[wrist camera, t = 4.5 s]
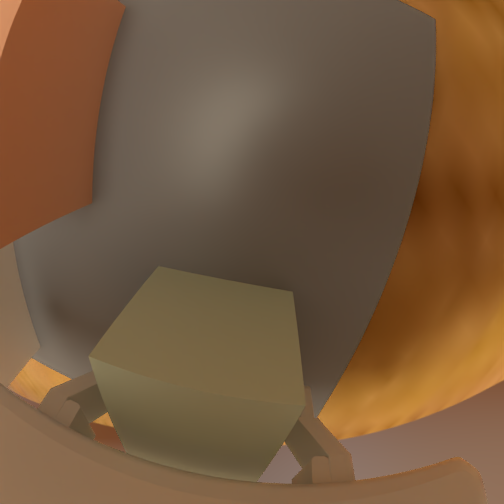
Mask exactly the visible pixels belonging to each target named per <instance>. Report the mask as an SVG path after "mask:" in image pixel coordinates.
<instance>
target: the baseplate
mask: <svg viewBox="0 0 504 504" xmlns="http://www.w3.org/2000/svg"><path fill="white" fill-rule="evenodd" d="M118 1H119V2H121V3H122V4H123V5H125V6H126V8H125V10H124V13H123V16H122V19H121V22H120V25H119V28H118V31H117V34H116V38H115V41H114V45H113V48H112V52H111V56H110V60H109V64H108V68H107V72H106V77H105V82H104V87H103V92H102V97H101V103H100V109H99V116H98V123H97V131H96V140H95V150H94V163H93V182H92V203H91V204H89V205H87V206H84V207H82V208H80V209H78V210H75V211H73V212H71V213H69V214H67V215H64V216H62V217H60V218H58V219H56V220H54V221H52V222H50V223H48V224H46V225H44V226H42V227H40V228H38V229H36V230H34V231H32V232H30V233H28V234H26V235H25V236H23V237H21V238H19V239H17V240H15V241H14V242H12V243H10V244H8V245H7V246H5V247H3V248H1V249H0V383H1V384H2V385H4V386H5V387H6V388H7V387H8V386H9V385H10V383H11V382H12V381H13V380H14V378H15V377H16V376H17V375H18V373H19V372H20V371H21V370H22V368H23V367H24V366H25V365H26V364H27V362H28V361H29V360H30V359H31V358H33V359H35V360H37V361H38V362H40V363H42V364H44V365H46V366H47V367H49V368H51V369H53V370H55V371H57V372H59V373H61V374H63V375H65V376H67V377H69V378H71V379H74V378H77V377H79V376H81V375H84V374H86V373H88V372H90V371H93V370H92V366H91V363H90V360H89V357H88V356H89V355H90V353H91V352H92V350H93V349H94V348H95V346H96V345H97V344H98V342H99V341H100V339H101V338H102V337H103V335H104V334H105V333H106V331H107V330H108V329H109V327H110V326H111V325H112V323H113V322H114V321H115V320H116V318H117V317H118V316H119V314H120V313H121V312H122V310H123V309H124V308H125V307H126V305H127V304H128V303H129V302H130V300H131V299H132V298H133V297H134V295H135V294H136V293H137V292H138V290H139V289H140V288H141V287H142V285H143V284H144V283H145V282H146V280H147V279H148V278H149V277H150V276H151V274H152V273H153V272H154V271H155V270H156V268H157V267H158V266H161V267H166V268H170V269H175V270H180V271H185V272H190V273H195V274H200V275H205V276H210V277H215V278H220V279H225V280H230V281H236V282H241V283H246V284H252V285H257V286H263V287H269V288H274V289H280V290H286V291H292V292H293V297H294V305H295V313H296V321H297V329H298V337H299V345H300V354H301V363H302V372H303V382H304V386H309V387H310V388H311V396H312V404H313V413H314V418H316V417H317V416H318V414H319V413H320V411H321V410H322V408H323V407H324V405H325V403H326V402H327V400H328V398H329V397H330V395H331V394H332V392H333V390H334V388H335V387H336V385H337V383H338V382H339V380H340V378H341V376H342V375H343V373H344V371H345V369H346V367H347V366H348V364H349V362H350V360H351V358H352V356H353V354H354V352H355V350H356V349H357V347H358V345H359V343H360V341H361V339H362V337H363V334H364V332H365V330H366V328H367V326H368V324H369V322H370V320H371V317H372V315H373V313H374V311H375V309H376V306H377V304H378V302H379V299H380V297H381V295H382V292H383V290H384V287H385V285H386V282H387V280H388V277H389V275H390V272H391V269H392V267H393V264H394V261H395V259H396V256H397V253H398V250H399V247H400V244H401V241H402V238H403V235H404V232H405V229H406V226H407V222H408V219H409V216H410V212H411V209H412V205H413V202H414V198H415V194H416V190H417V186H418V182H419V178H420V174H421V169H422V164H423V160H424V155H425V150H426V144H427V139H428V133H429V126H430V119H431V112H432V104H433V94H434V82H435V66H436V21H435V19H434V18H432V17H431V16H429V15H427V14H425V13H423V12H421V11H419V10H417V9H415V8H413V7H411V6H409V5H407V4H405V3H403V2H401V1H398V0H118Z"/></svg>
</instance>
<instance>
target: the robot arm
mask: <svg viewBox="0 0 504 504" xmlns="http://www.w3.org/2000/svg"><path fill="white" fill-rule="evenodd" d="M304 392H305V403H306V406H305V408H304V409H303V411H302V413H301V415H300V416H299V418H298V420H297V422H296V423H295V425H294V427H293V428H292V430H291V431H290V433H289V435H288V436H287V438H286V440H285V443H286V444H287V446H288V447H289V449H290V450H291V452H292V454H293V455H294V457H295V458H296V460H297V461H298V462H299V464H300V466H301V467H302V470H301V471H300V472H299V473H298V474H297V475H296V476H295V477H294V478H293V479H292V484H279V483H262V482H250V481H241V480H233V479H226V478H220V477H214V476H208V475H203V474H198V473H193V472H189V471H184V470H180V469H176V468H172V467H169V466H165V465H161V464H158V463H155V462H151V461H148V460H145V459H142V458H139V457H136V456H133V455H130V454H128V453H125V452H122V451H120V450H117V449H115V448H112V447H110V446H107V445H105V444H102V443H100V442H98V441H96V440H94V438H95V433H94V431H93V430H92V428H91V426H90V424H89V423H91V422H93V421H94V420H96V419H97V418H99V417H100V416H102V415H103V414H105V413H106V412H108V411H107V409H106V406H105V404H104V401H103V398H102V396H101V393H100V390H99V388H98V385H97V382H96V379H95V376H94V373H93V371H90V372H88V373H86V374H84V375H81V376H79V377H77V378H74V379H72V380H70V381H67V382H65V383H63V384H60V385H58V386H56V387H53V388H51V389H50V391H49V392H48V393H47V395H46V396H45V398H44V399H43V401H42V402H41V404H40V405H39V407H38V408H37V409H36V408H35V407H33V406H32V405H30V404H29V403H27V402H26V401H24V400H23V399H21V398H20V397H18V396H17V395H16V394H14V393H13V392H12V391H10V390H9V389H8V388H6V387H5V386H4V385H2V384H1V383H0V504H488V501H487V496H486V492H485V488H484V484H483V481H482V478H481V475H480V473H479V471H478V470H477V469H476V468H474V467H473V466H472V465H471V464H469V463H468V462H467V461H465V460H464V459H462V458H461V457H455V458H451V459H448V460H445V461H442V462H439V463H436V464H433V465H429V466H426V467H422V468H419V469H415V470H411V471H406V472H402V473H398V474H393V475H388V476H382V477H376V478H371V479H363V480H357V481H356V480H355V476H354V469H353V463H352V457H351V454H350V453H349V452H348V451H347V450H346V449H345V448H344V446H342V444H341V443H340V442H339V441H338V440H337V439H336V438H335V437H334V436H333V435H332V433H331V432H330V431H329V430H328V429H327V428H326V427H325V426H324V425H323V423H322V422H321V421H320V420H319V419H318V418H314V413H313V404H312V396H311V388H310V387H309V386H304Z"/></svg>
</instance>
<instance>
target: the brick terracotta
mask: <svg viewBox="0 0 504 504" xmlns="http://www.w3.org/2000/svg"><path fill="white" fill-rule="evenodd" d="M125 8H126V6H125V5H123V4H122V3H121V2H119V1H118V0H0V249H1V248H3V247H5V246H7V245H8V244H10V243H12V242H14V241H15V240H17V239H19V238H21V237H23V236H25V235H26V234H28V233H30V232H32V231H34V230H36V229H38V228H40V227H42V226H44V225H46V224H48V223H50V222H52V221H54V220H56V219H58V218H60V217H62V216H64V215H67V214H69V213H71V212H73V211H75V210H78V209H80V208H82V207H84V206H87V205H89V204H91V203H92V182H93V163H94V150H95V140H96V131H97V123H98V116H99V109H100V103H101V97H102V92H103V87H104V82H105V77H106V72H107V68H108V64H109V60H110V56H111V52H112V48H113V45H114V41H115V38H116V34H117V31H118V28H119V25H120V22H121V19H122V16H123V13H124V10H125Z"/></svg>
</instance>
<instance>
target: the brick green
mask: <svg viewBox="0 0 504 504" xmlns="http://www.w3.org/2000/svg"><path fill="white" fill-rule="evenodd" d="M88 357H89V360H90V363H91V366H92V370H93V373H94V376H95V379H96V382H97V385H98V388H99V390H100V393H101V396H102V398H103V401H104V404H105V406H106V409H107V411H108V414H109V416H110V418H111V421H112V423H113V425H114V428H115V430H116V432H117V434H118V436H119V438H120V441H121V442H122V445H123V447H124V449H125V451H126V453H128V454H130V455H133V456H136V457H139V458H142V459H145V460H148V461H151V462H155V463H158V464H161V465H165V466H169V467H172V468H176V469H180V470H184V471H189V472H193V473H198V474H203V475H208V476H214V477H220V478H226V479H233V480H241V481H250V482H257V481H258V479H259V478H260V476H261V475H262V474H263V472H264V471H265V470H266V468H267V467H268V465H269V464H270V462H271V461H272V459H273V458H274V456H275V455H276V453H277V452H278V450H279V449H280V447H281V446H282V444H283V443H284V441H285V440H286V438H287V436H288V435H289V433H290V431H291V430H292V428H293V427H294V425H295V423H296V422H297V420H298V418H299V416H300V415H301V413H302V411H303V409H304V408H305V406H306V403H305V392H304V382H303V372H302V363H301V354H300V345H299V337H298V329H297V321H296V313H295V305H294V297H293V292H292V291H286V290H280V289H274V288H269V287H263V286H257V285H252V284H246V283H241V282H236V281H230V280H225V279H220V278H215V277H210V276H205V275H200V274H195V273H190V272H185V271H180V270H175V269H170V268H166V267H161V266H158V267H157V268H156V270H155V271H154V272H153V273H152V274H151V276H150V277H149V278H148V279H147V280H146V282H145V283H144V284H143V285H142V287H141V288H140V289H139V290H138V292H137V293H136V294H135V295H134V297H133V298H132V299H131V300H130V302H129V303H128V304H127V305H126V307H125V308H124V309H123V310H122V312H121V313H120V314H119V316H118V317H117V318H116V320H115V321H114V322H113V323H112V325H111V326H110V327H109V329H108V330H107V331H106V333H105V334H104V335H103V337H102V338H101V339H100V341H99V342H98V344H97V345H96V346H95V348H94V349H93V350H92V352H91V353H90V355H89V356H88Z"/></svg>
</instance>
